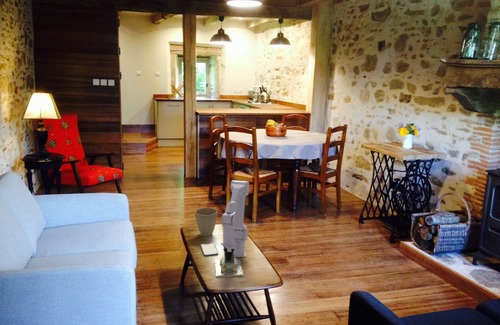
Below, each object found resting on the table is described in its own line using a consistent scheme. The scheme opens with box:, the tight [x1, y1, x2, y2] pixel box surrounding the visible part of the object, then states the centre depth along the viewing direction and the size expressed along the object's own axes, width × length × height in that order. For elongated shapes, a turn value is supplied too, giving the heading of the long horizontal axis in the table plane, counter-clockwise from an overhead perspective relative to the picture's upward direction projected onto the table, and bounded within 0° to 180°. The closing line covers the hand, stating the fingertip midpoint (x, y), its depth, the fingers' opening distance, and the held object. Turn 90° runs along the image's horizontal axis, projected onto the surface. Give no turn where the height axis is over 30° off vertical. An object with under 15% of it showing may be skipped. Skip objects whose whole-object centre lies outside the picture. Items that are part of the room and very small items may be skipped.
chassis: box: [214, 257, 244, 278], centre depth 226 cm, size 18×14×4 cm
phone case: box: [199, 242, 219, 257], centre depth 250 cm, size 9×2×16 cm
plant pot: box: [194, 207, 219, 237], centre depth 274 cm, size 15×15×16 cm
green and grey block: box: [221, 251, 238, 268], centre depth 225 cm, size 11×8×6 cm
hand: (228, 258), depth 225 cm, fingers closed on green and grey block, 4 cm apart
